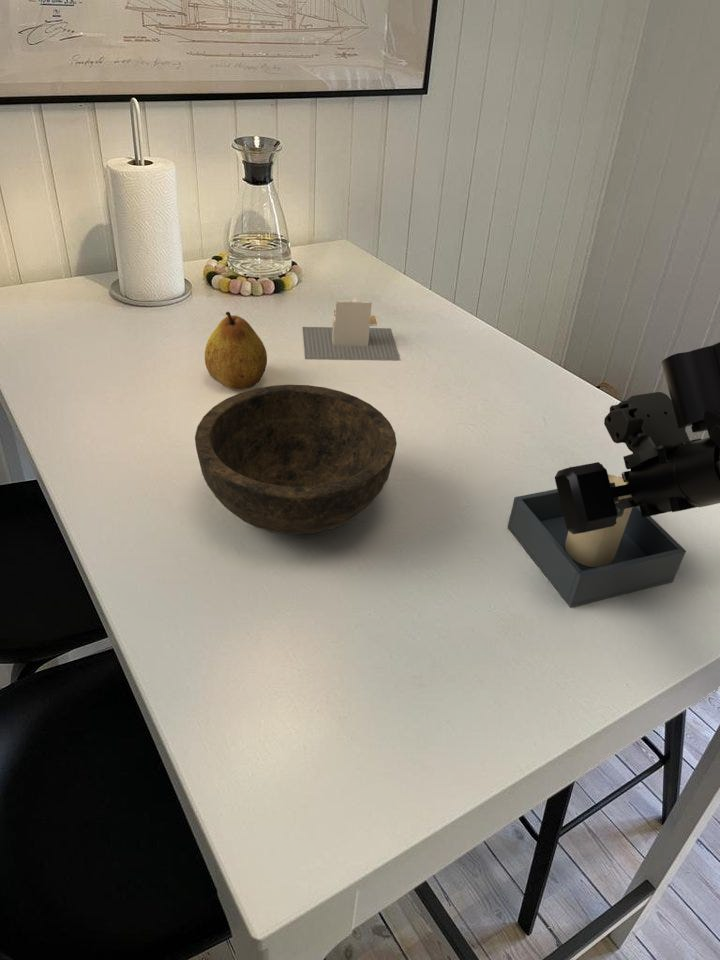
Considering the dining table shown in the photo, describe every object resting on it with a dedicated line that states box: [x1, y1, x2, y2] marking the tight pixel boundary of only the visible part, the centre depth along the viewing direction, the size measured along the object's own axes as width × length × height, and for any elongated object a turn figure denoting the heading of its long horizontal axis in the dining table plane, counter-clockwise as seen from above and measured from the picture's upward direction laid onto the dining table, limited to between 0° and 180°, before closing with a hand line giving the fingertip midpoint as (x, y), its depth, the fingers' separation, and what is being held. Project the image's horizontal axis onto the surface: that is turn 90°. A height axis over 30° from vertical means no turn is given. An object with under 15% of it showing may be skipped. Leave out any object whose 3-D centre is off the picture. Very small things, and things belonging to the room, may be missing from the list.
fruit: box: [204, 311, 268, 391], centre depth 106 cm, size 9×9×12 cm
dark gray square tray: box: [507, 488, 687, 608], centre depth 83 cm, size 13×13×4 cm
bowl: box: [194, 384, 397, 535], centre depth 85 cm, size 22×22×10 cm
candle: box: [565, 473, 632, 567], centre depth 81 cm, size 6×6×10 cm
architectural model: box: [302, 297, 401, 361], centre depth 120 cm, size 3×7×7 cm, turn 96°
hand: (597, 497), depth 81 cm, fingers closed on candle, 5 cm apart
